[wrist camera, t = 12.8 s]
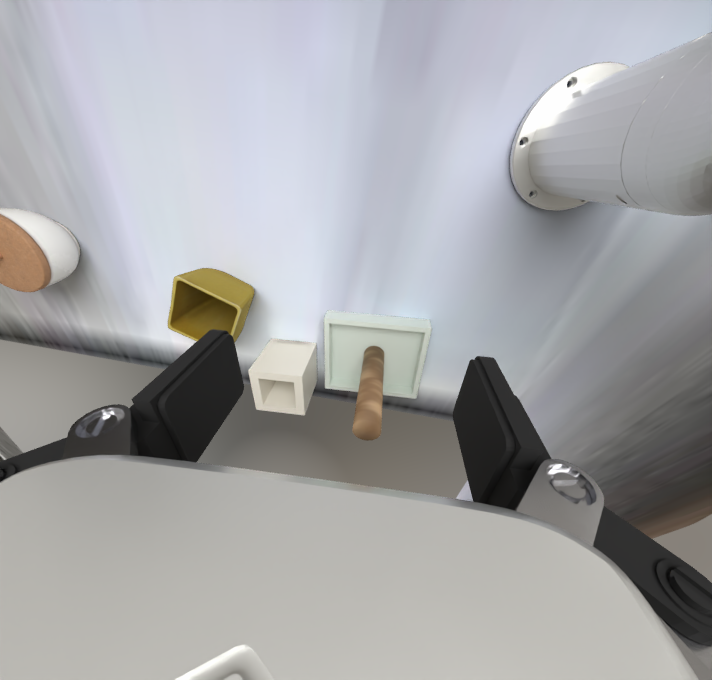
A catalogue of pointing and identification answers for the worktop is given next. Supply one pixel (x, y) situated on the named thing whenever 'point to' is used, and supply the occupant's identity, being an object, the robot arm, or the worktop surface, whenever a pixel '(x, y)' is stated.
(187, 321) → the flower pot
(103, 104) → the worktop surface
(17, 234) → the lidded jar
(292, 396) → the white square holder
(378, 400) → the dowel
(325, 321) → the tray
